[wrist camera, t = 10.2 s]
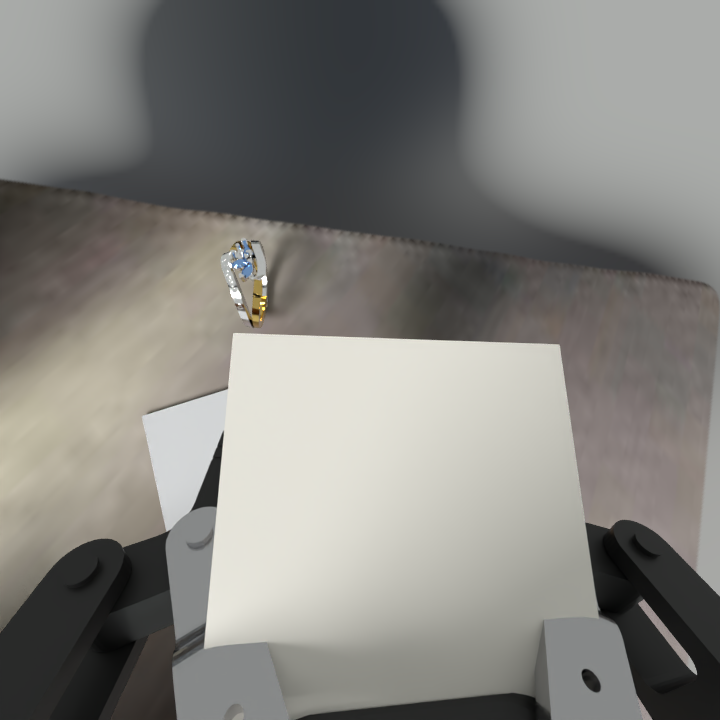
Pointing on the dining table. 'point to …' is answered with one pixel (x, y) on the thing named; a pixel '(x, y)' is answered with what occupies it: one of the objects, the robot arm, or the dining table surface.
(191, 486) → the mat
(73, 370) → the dining table surface
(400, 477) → the white rectangular block
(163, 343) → the dining table surface
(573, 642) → the robot arm
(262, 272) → the ring
